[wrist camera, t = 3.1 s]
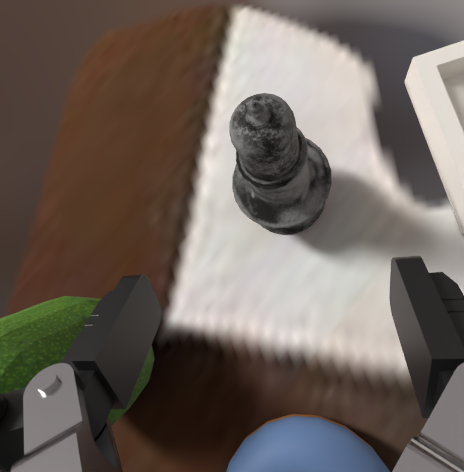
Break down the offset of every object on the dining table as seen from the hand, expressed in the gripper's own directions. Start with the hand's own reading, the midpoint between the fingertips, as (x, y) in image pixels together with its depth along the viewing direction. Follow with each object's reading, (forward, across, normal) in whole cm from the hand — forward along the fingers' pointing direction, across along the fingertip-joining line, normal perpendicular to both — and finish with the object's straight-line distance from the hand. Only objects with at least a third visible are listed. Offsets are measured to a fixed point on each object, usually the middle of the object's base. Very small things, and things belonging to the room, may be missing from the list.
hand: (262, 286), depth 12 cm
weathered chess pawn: (+13, 0, +4) cm, 14 cm away
